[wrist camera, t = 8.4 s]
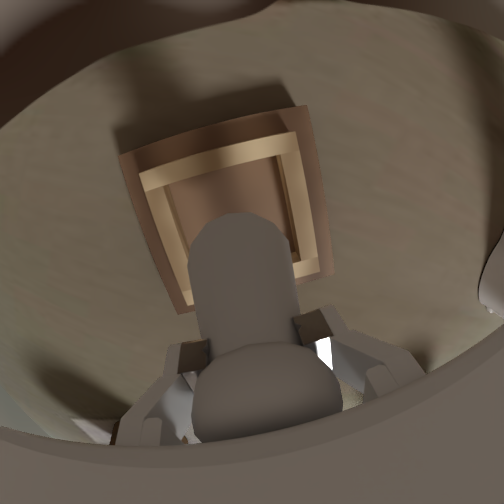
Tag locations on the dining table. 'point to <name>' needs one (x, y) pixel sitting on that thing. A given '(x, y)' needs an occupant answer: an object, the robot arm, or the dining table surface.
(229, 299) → the salt shaker
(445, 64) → the dining table surface
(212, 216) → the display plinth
